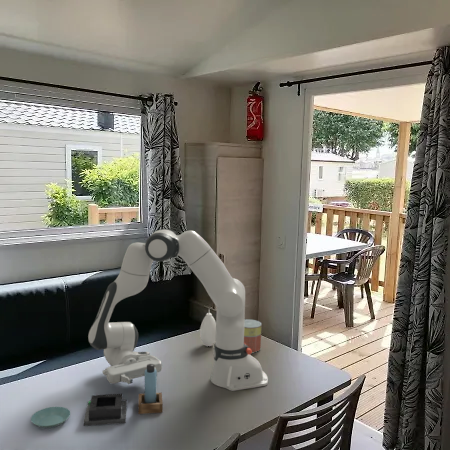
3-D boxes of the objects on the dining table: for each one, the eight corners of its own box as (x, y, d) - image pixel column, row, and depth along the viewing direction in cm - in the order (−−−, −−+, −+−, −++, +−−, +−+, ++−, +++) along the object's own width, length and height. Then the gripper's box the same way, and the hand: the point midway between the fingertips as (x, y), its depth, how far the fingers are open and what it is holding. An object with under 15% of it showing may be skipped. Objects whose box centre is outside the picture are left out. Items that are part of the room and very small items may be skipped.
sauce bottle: (210, 350, 208) (211, 311, 206) (196, 346, 212) (197, 308, 210) (219, 345, 214) (221, 307, 212) (206, 341, 219) (207, 304, 216)
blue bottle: (156, 403, 160) (156, 362, 158) (156, 409, 156) (156, 367, 154) (144, 404, 159) (144, 363, 157) (144, 410, 155) (144, 368, 153)
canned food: (242, 342, 219) (243, 317, 218) (264, 346, 214) (265, 321, 213) (232, 350, 209) (232, 324, 208) (254, 355, 204) (255, 329, 203)
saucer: (24, 422, 146) (23, 416, 146) (58, 408, 155) (58, 402, 155) (43, 437, 139) (43, 430, 139) (77, 421, 148) (77, 414, 148)
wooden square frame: (161, 400, 162) (161, 392, 162) (162, 412, 154) (162, 403, 154) (138, 401, 161) (138, 393, 160) (138, 414, 153) (138, 405, 153)
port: (126, 404, 159) (126, 391, 158) (125, 423, 147) (125, 409, 147) (87, 406, 157) (87, 394, 156) (83, 425, 145) (83, 412, 144)
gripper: (100, 362, 166) (114, 376, 155) (151, 350, 178) (168, 363, 167) (100, 378, 167) (115, 394, 156) (151, 366, 179) (168, 379, 168)
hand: (143, 378), depth 161 cm, fingers open, 8 cm apart
